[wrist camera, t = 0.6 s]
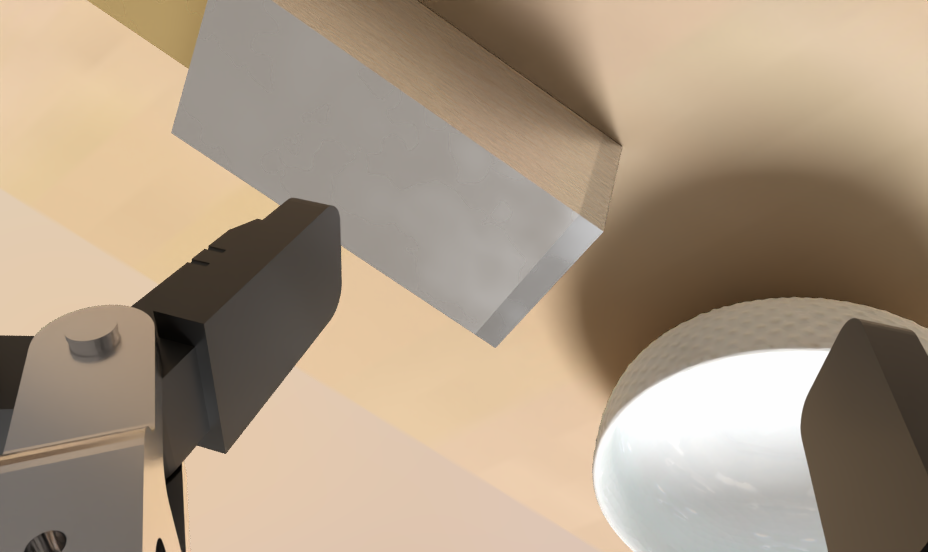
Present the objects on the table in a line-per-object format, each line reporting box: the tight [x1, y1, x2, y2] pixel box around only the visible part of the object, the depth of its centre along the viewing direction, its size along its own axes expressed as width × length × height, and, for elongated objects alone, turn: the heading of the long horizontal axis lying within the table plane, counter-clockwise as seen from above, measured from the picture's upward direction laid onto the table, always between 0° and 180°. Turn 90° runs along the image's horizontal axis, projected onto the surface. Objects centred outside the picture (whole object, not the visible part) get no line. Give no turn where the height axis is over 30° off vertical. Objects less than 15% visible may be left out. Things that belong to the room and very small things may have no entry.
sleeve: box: [171, 0, 622, 348], centre depth 26 cm, size 7×15×7 cm, turn 59°
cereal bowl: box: [592, 297, 928, 552], centre depth 29 cm, size 17×17×7 cm
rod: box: [88, 0, 208, 69], centre depth 25 cm, size 4×24×4 cm, turn 59°
